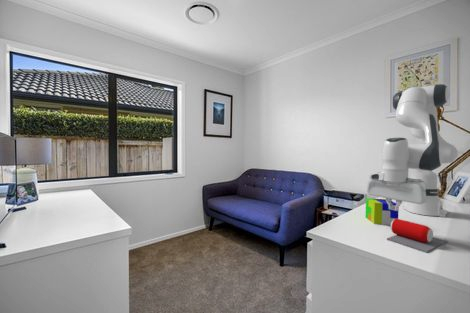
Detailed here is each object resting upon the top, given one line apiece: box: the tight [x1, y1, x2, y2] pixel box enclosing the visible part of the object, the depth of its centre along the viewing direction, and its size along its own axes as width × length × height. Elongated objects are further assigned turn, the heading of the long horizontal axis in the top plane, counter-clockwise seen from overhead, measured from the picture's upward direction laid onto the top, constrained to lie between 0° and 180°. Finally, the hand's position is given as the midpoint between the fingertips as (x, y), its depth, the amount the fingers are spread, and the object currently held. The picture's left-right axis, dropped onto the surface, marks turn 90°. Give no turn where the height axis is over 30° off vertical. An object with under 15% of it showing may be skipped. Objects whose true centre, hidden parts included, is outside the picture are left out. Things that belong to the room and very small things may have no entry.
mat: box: [386, 234, 448, 254], centre depth 81 cm, size 18×12×1 cm, turn 119°
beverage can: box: [390, 218, 434, 243], centre depth 82 cm, size 6×6×12 cm
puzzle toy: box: [365, 198, 399, 226], centre depth 104 cm, size 10×10×10 cm
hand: (393, 209), depth 88 cm, fingers closed
